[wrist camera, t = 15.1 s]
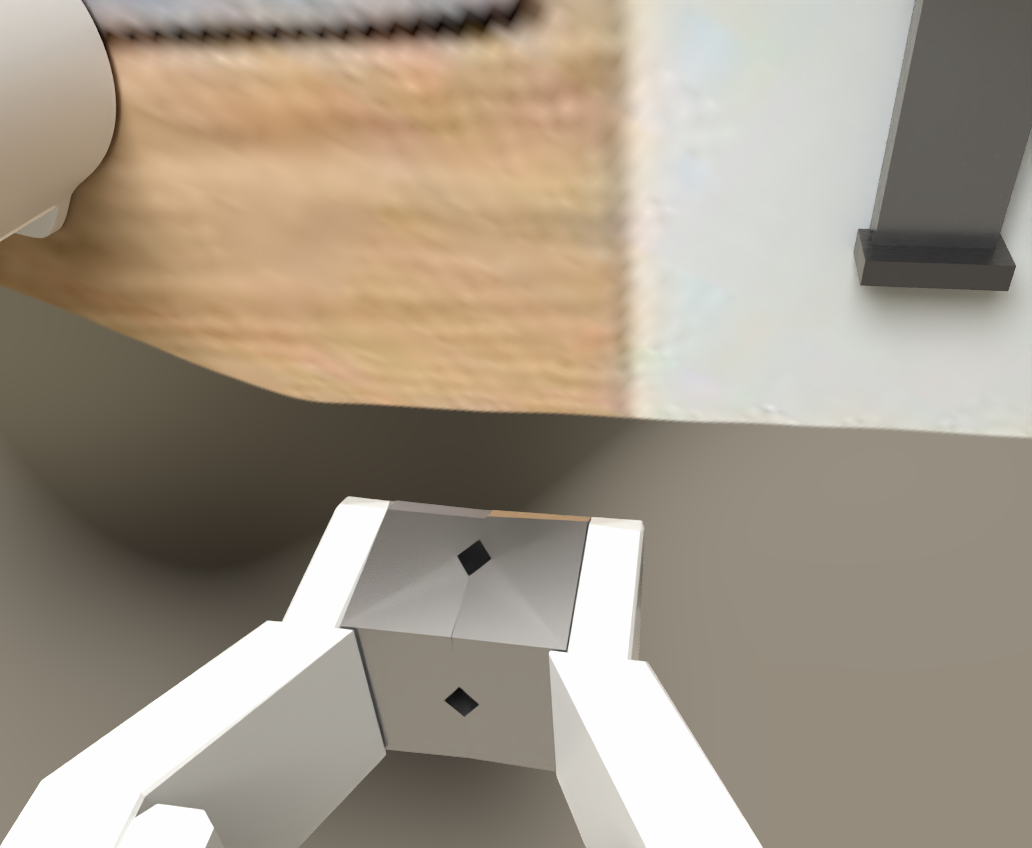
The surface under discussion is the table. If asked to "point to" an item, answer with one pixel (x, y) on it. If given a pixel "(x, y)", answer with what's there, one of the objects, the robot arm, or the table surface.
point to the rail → (952, 149)
